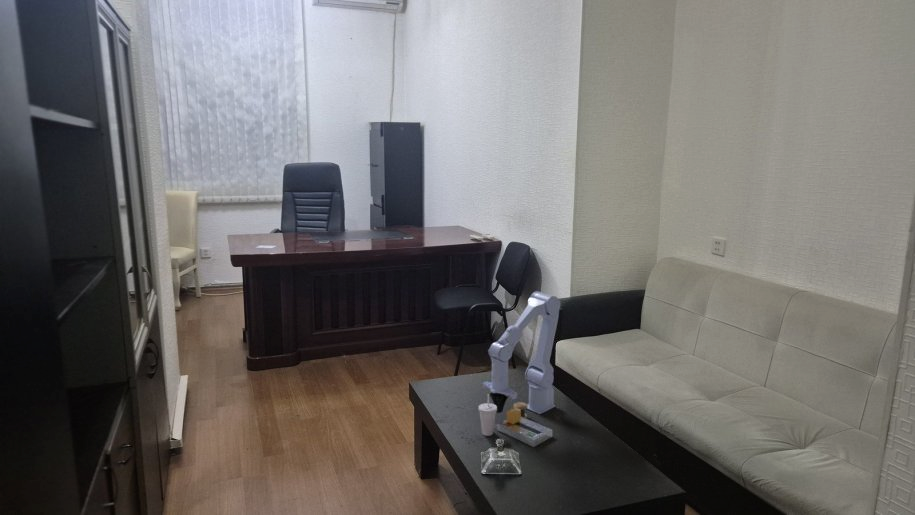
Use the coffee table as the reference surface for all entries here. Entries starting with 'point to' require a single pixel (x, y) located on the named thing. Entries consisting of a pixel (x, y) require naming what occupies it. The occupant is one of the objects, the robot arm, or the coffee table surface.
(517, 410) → the toggle
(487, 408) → the smoothie
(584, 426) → the coffee table surface
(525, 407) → the reel
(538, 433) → the panel
